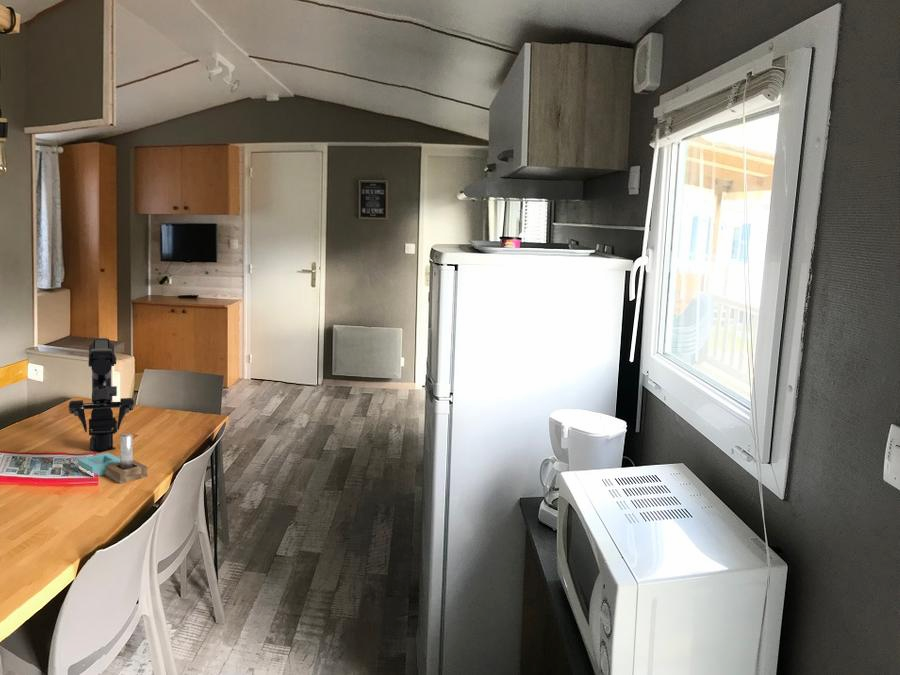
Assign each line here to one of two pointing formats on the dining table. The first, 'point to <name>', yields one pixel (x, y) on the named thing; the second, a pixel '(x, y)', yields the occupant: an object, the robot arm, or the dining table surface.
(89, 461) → the seat block
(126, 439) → the steel rod
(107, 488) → the dining table surface
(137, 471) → the brown square socket block
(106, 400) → the robot arm
